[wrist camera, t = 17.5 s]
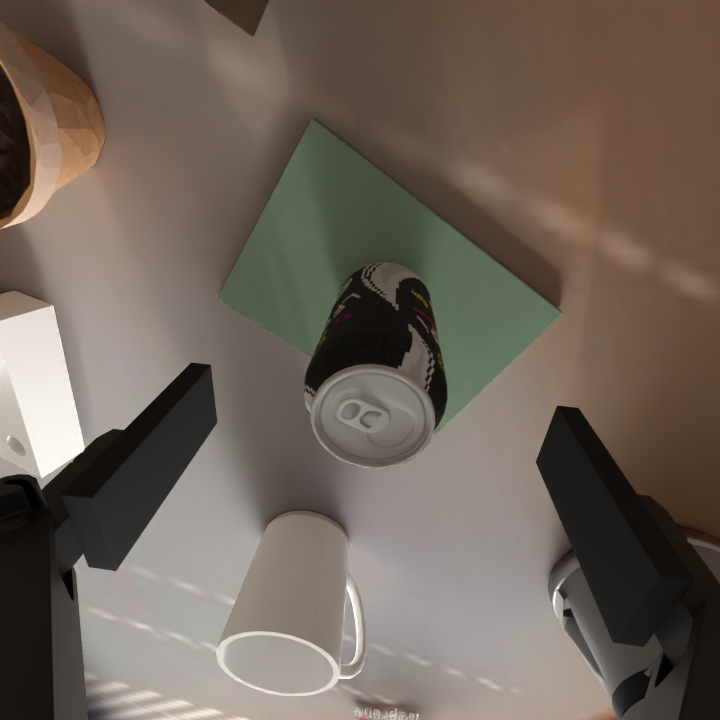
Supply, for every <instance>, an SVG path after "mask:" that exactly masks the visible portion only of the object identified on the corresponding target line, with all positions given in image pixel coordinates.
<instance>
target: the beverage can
mask: <svg viewBox="0 0 720 720" xmlns="http://www.w3.org/2000/svg"><path fill="white" fill-rule="evenodd" d="M304 399H305V404H306V408H307V411H308V413H309V415H310V417H311V424H312V428H313V431H314V433H315V435H316V437H317V439H318V441H319V442H320V443H321V444H322V446H323V447H324V448H325V449H326V450H327V451H328V452H330V453H331V454H332V455H333V456H335V457H337V458H338V459H340V460H342V461H344V462H346V463H349V464H351V465H355V466H359V467H363V468H372V469H377V468H388V467H394V466H397V465H400V464H403V463H405V462H407V461H409V460H411V459H412V458H414V457H416V456H417V455H418V454H419V453H421V452H422V451H423V450H424V449H425V447H426V446H427V445H428V443H429V442H430V440H431V437H432V435H433V433H434V430H435V429H436V428H437V426H438V425H439V424H440V421H441V419H442V417H443V415H444V412H445V409H446V404H447V399H448V392H447V380H446V375H445V370H444V365H443V359H442V354H441V349H440V344H439V339H438V333H437V328H436V323H435V318H434V312H433V307H432V302H431V298H430V294H429V291H428V289H427V287H426V285H425V284H424V282H423V281H422V280H421V279H420V277H419V276H418V275H417V274H415V273H414V272H413V271H412V270H410V269H408V268H406V267H404V266H402V265H399V264H395V263H388V262H379V263H372V264H369V265H366V266H364V267H362V268H360V269H358V270H356V271H355V272H354V273H353V274H352V275H350V276H349V277H348V279H347V280H346V281H345V282H344V284H343V285H342V287H341V290H340V292H339V294H338V296H337V299H336V301H335V304H334V306H333V308H332V311H331V313H330V316H329V318H328V320H327V323H326V325H325V328H324V330H323V333H322V335H321V337H320V340H319V342H318V345H317V347H316V350H315V352H314V354H313V357H312V359H311V362H310V364H309V366H308V369H307V372H306V376H305V381H304Z"/></svg>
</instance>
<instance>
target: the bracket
mask: <svg viewBox="0 0 720 720" xmlns="http://www.w3.org/2000/svg"><path fill="white" fill-rule="evenodd" d="M84 449H85V447H84V443H83V438H82V434H81V429H80V425H79V420H78V415H77V411H76V406H75V402H74V397H73V393H72V388H71V384H70V379H69V375H68V370H67V365H66V361H65V356H64V352H63V347H62V343H61V338H60V334H59V329H58V325H57V320H56V316H55V311H54V306H53V305H52V304H49V303H46V302H44V301H41V300H38V299H36V298H33V297H30V296H28V295H25V294H22V293H20V292H17V291H11V292H7V293H3V294H0V458H2V459H4V460H6V461H8V462H10V463H12V464H14V465H16V466H18V467H20V468H22V469H24V470H26V471H28V472H30V473H32V474H34V475H36V476H38V477H40V478H43V477H44V476H46V475H47V474H49V473H50V472H52V471H54V470H55V469H57V468H58V467H60V466H61V465H63V464H64V463H66V462H67V461H69V460H70V459H72V458H74V457H75V456H77V455H78V454H80V453H81V452H83V451H84Z"/></svg>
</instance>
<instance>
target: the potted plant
mask: <svg viewBox="0 0 720 720" xmlns="http://www.w3.org/2000/svg"><path fill="white" fill-rule="evenodd" d="M104 141H105V125H104V121H103V117H102V113H101V109H100V106H99V104H98V102H97V100H96V98H95V96H94V95H93V93H92V91H91V89H90V88H89V87H88V86H87V84H86V83H85V82H84V81H83V79H82V78H81V77H80V76H79V75H77V74H76V73H75V72H73V71H72V70H71V69H69V68H68V67H67V66H66V65H64V64H63V63H62V62H60V61H59V60H58V59H56V58H55V57H54V56H52V55H51V54H49V53H48V52H46V51H44V50H43V49H41V48H40V47H38V46H37V45H35V44H34V43H32V42H30V41H29V40H27V39H26V38H24V37H23V36H21V35H20V34H18V33H17V32H15V31H14V30H13V29H11V28H10V27H8V26H6V25H5V24H3V23H2V22H1V21H0V229H2V228H5V227H9V226H12V225H15V224H18V223H21V222H24V221H26V220H28V219H29V218H31V217H33V216H34V215H36V214H37V213H38V212H40V211H41V210H42V208H43V207H44V206H45V204H46V203H47V201H48V200H49V199H50V197H51V196H52V194H53V192H55V191H56V190H58V189H59V188H61V187H62V186H64V185H65V184H66V183H68V182H69V181H71V180H72V179H74V178H75V177H77V176H78V175H80V174H81V173H83V172H84V171H86V170H87V169H89V168H90V167H92V166H93V165H95V164H96V161H97V159H98V156H99V154H100V151H101V149H102V146H103V144H104Z"/></svg>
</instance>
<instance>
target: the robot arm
mask: <svg viewBox="0 0 720 720" xmlns="http://www.w3.org/2000/svg"><path fill="white" fill-rule="evenodd" d="M216 424H217V415H216V407H215V398H214V389H213V381H212V372H211V365H208V364H199V363H190V364H189V365H188V366H187V367H186V368H185V369H184V370H183V371H182V372H181V373H180V374H179V375H178V376H177V377H176V378H175V379H174V380H173V381H172V382H171V383H170V384H169V385H168V386H167V388H166V389H165V390H164V391H163V392H162V393H161V394H160V395H159V396H158V397H157V398H156V399H155V400H154V401H153V402H152V403H151V404H150V405H149V406H148V407H147V408H146V409H145V410H144V411H143V412H142V413H141V414H140V415H139V416H138V417H137V418H136V419H135V420H134V421H133V422H132V423H131V424H130V425H129V426H128V427H127V428H126V429H125V430H118V429H112V430H110V431H109V432H107V433H105V434H103V435H101V436H100V437H98V438H96V439H95V440H94V441H93V442H92V443H91V444H90V445H89V446H88V447H87V448H85V449H84V452H83V453H80V454H79V455H78V456H77V457H76V458H75V459H74V460H73V462H71V463H69V464H68V465H67V466H66V467H65V468H64V469H63V470H62V471H61V472H60V473H59V474H58V475H57V476H56V477H55V478H54V479H52V480H51V481H50V482H49V483H48V484H47V485H46V486H45V487H44V488H43V489H42V490H41V489H40V486H39V484H38V482H37V479H36V478H35V477H32V476H30V475H21V474H17V475H12V476H7V477H3V478H0V720H88V715H87V702H86V690H85V678H84V666H83V653H82V641H81V629H80V616H79V604H78V592H77V580H76V572H75V570H74V567H73V566H74V564H75V563H76V562H77V561H78V559H79V558H80V557H81V556H82V554H83V553H84V556H85V559H86V561H87V564H88V566H89V567H92V568H99V569H106V570H113V571H116V570H117V569H118V567H119V566H120V564H121V563H122V562H123V560H124V559H125V557H126V556H127V554H128V553H129V551H130V550H131V548H132V547H133V545H134V544H135V542H136V541H137V540H138V538H139V537H140V535H141V534H142V532H143V531H144V529H145V528H146V526H147V525H148V523H149V522H150V520H151V519H152V518H153V516H154V515H155V513H156V512H157V510H158V509H159V507H160V506H161V504H162V503H163V501H164V500H165V498H166V497H167V495H168V494H169V493H170V491H171V490H172V488H173V487H174V485H175V484H176V482H177V481H178V479H179V478H180V476H181V475H182V473H183V472H184V471H185V469H186V468H187V466H188V465H189V463H190V462H191V460H192V459H193V457H194V456H195V454H196V453H197V451H198V450H199V449H200V447H201V446H202V444H203V443H204V441H205V440H206V438H207V437H208V435H209V434H210V432H211V431H212V429H213V428H214V426H215V425H216ZM536 464H537V466H538V468H539V471H540V473H541V475H542V478H543V480H544V482H545V485H546V487H547V489H548V492H549V494H550V497H551V499H552V501H553V504H554V506H555V508H556V511H557V513H558V515H559V518H560V520H561V522H562V525H563V527H564V529H565V532H566V534H567V536H568V539H569V541H570V543H571V546H572V548H573V550H572V551H571V552H570V553H568V554H567V555H566V556H565V557H564V558H563V559H562V560H561V561H560V562H559V563H558V564H557V565H556V567H555V568H554V570H553V572H552V574H551V576H550V579H549V584H548V591H549V595H550V598H551V601H552V605H553V608H554V611H555V613H556V616H557V618H558V619H559V621H560V623H561V625H562V627H563V628H564V630H565V631H566V632H567V634H568V635H569V637H570V638H571V640H572V641H573V643H574V644H575V646H576V647H577V649H578V650H579V652H580V653H581V655H582V656H583V658H584V659H585V661H586V662H587V663H588V665H589V666H590V668H591V669H592V671H593V672H594V674H595V675H596V677H597V678H598V680H599V681H600V683H601V684H602V686H603V687H604V689H605V690H606V692H607V694H608V696H609V699H610V701H611V704H612V706H613V709H614V711H615V714H616V717H617V719H618V720H720V541H718V540H717V539H715V538H713V537H711V536H709V535H707V534H704V533H701V532H699V531H695V530H691V529H686V528H681V527H678V525H677V524H676V522H675V521H674V520H673V518H672V517H671V516H670V514H669V513H668V512H667V510H666V509H664V508H663V507H662V506H661V505H660V504H659V503H657V502H656V501H655V500H654V499H653V498H652V497H650V496H647V495H639V494H637V493H636V492H635V490H634V489H633V487H632V486H631V484H630V483H629V481H628V480H627V479H626V477H625V476H624V474H623V473H622V471H621V470H620V468H619V467H618V465H617V464H616V462H615V461H614V459H613V458H612V457H611V455H610V454H609V452H608V451H607V449H606V448H605V446H604V445H603V443H602V442H601V440H600V439H599V437H598V436H597V435H596V433H595V432H594V430H593V429H592V427H591V426H590V424H589V423H588V421H587V420H586V418H585V417H584V415H583V414H582V413H581V411H580V410H579V408H574V407H565V406H557V408H556V410H555V413H554V416H553V418H552V421H551V423H550V426H549V429H548V431H547V434H546V437H545V439H544V442H543V444H542V447H541V450H540V452H539V455H538V457H537V460H536Z"/></svg>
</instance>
